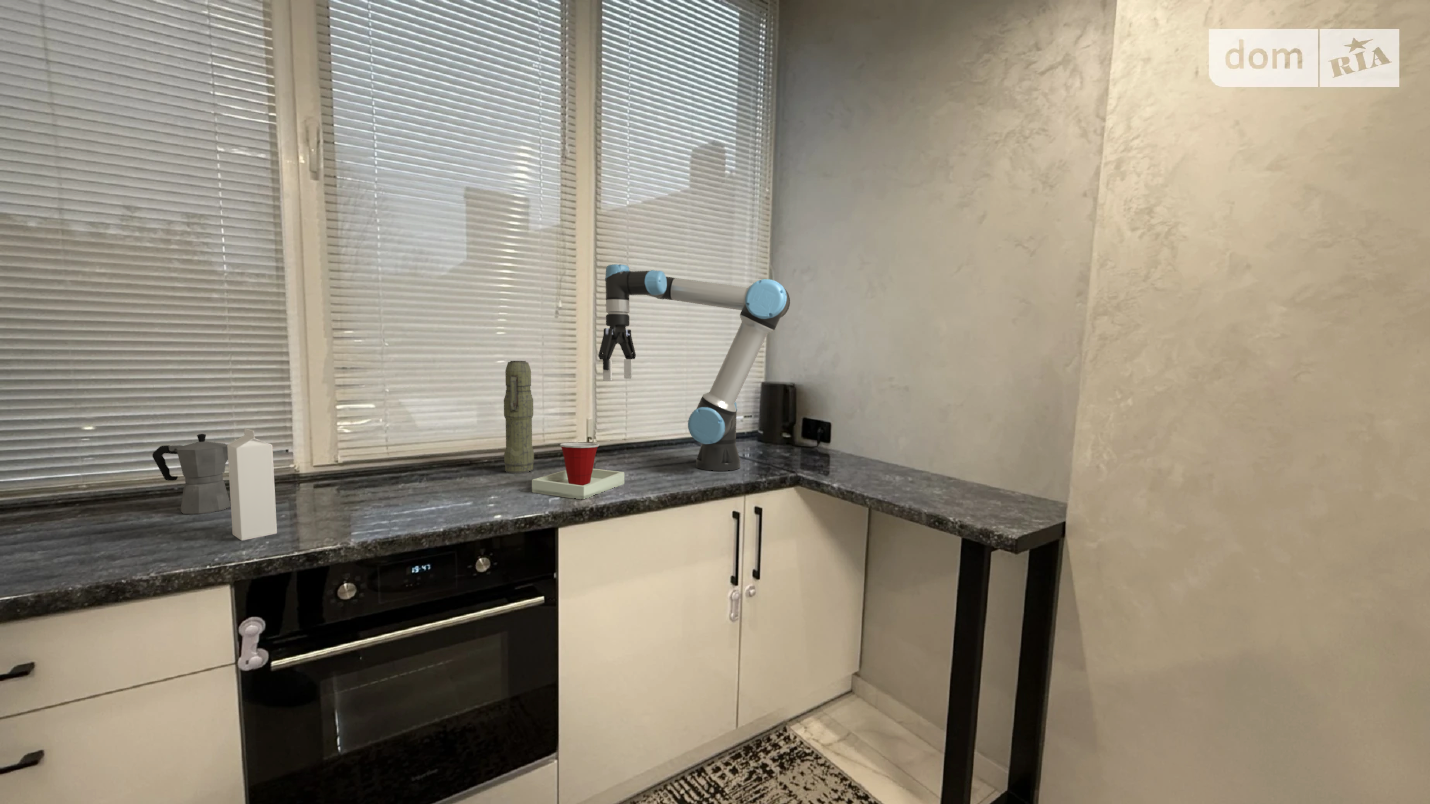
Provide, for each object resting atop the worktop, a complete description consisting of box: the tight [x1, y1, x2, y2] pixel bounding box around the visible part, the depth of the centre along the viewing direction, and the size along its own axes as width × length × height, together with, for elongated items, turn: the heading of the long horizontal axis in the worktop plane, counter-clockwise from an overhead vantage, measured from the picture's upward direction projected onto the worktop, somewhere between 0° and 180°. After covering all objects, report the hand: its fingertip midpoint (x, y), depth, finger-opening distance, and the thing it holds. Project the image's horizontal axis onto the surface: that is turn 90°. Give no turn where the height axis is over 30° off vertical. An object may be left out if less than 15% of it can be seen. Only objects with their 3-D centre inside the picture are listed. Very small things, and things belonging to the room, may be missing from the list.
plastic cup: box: [559, 442, 600, 486], centre depth 164 cm, size 11×11×12 cm
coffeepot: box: [152, 433, 231, 516], centre depth 135 cm, size 15×9×18 cm, turn 116°
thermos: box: [503, 360, 535, 474], centre depth 184 cm, size 9×12×35 cm
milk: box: [227, 427, 278, 542], centre depth 119 cm, size 6×6×22 cm
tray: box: [531, 468, 625, 500], centre depth 164 cm, size 17×20×4 cm
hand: (618, 379), depth 189 cm, fingers open, 13 cm apart
